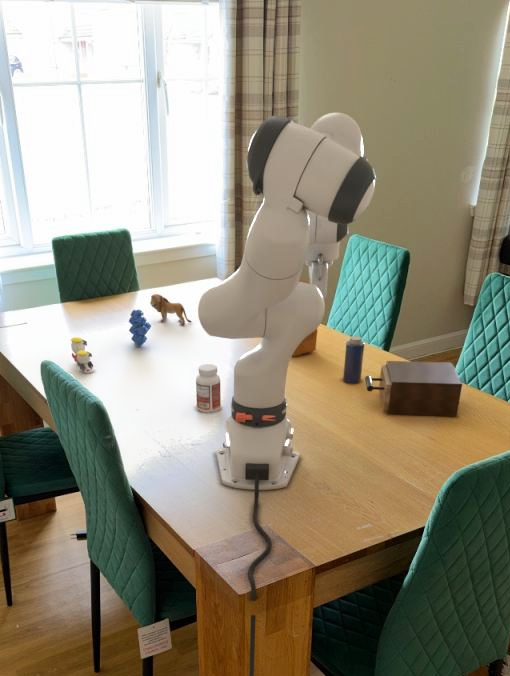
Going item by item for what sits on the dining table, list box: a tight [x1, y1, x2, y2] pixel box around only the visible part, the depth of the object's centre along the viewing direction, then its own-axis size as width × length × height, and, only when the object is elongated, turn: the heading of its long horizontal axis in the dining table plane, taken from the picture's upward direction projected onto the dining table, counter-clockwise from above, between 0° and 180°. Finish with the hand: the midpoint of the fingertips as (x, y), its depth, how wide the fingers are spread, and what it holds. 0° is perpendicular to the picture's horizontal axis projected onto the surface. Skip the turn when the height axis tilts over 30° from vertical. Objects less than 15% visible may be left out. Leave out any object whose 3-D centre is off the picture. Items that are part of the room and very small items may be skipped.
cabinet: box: [385, 360, 463, 418], centre depth 190 cm, size 17×15×9 cm
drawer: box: [364, 364, 391, 411], centre depth 190 cm, size 20×14×7 cm
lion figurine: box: [149, 293, 192, 326], centre depth 251 cm, size 15×5×9 cm, turn 70°
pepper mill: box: [342, 335, 365, 385], centre depth 203 cm, size 5×5×12 cm
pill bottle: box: [195, 363, 222, 413], centre depth 189 cm, size 6×6×11 cm
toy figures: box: [70, 336, 94, 374], centre depth 215 cm, size 12×4×8 cm, turn 23°
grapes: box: [128, 308, 152, 348], centre depth 230 cm, size 12×7×12 cm, turn 24°
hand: (316, 309), depth 179 cm, fingers closed
